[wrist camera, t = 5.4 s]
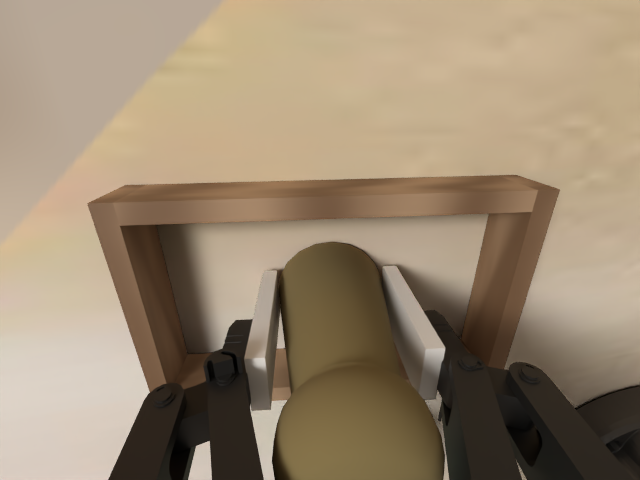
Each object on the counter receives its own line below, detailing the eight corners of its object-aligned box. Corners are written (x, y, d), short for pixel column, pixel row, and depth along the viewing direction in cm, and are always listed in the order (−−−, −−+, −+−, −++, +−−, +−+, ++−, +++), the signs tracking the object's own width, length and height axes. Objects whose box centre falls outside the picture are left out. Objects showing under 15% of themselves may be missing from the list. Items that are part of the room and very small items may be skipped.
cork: (258, 299, 18) (205, 540, 8) (320, 221, 16) (352, 402, 6) (338, 344, 20) (377, 590, 10) (401, 278, 18) (529, 491, 8)
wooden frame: (516, 175, 16) (560, 189, 14) (472, 349, 21) (498, 386, 18) (125, 185, 15) (87, 203, 12) (174, 366, 20) (155, 408, 17)
